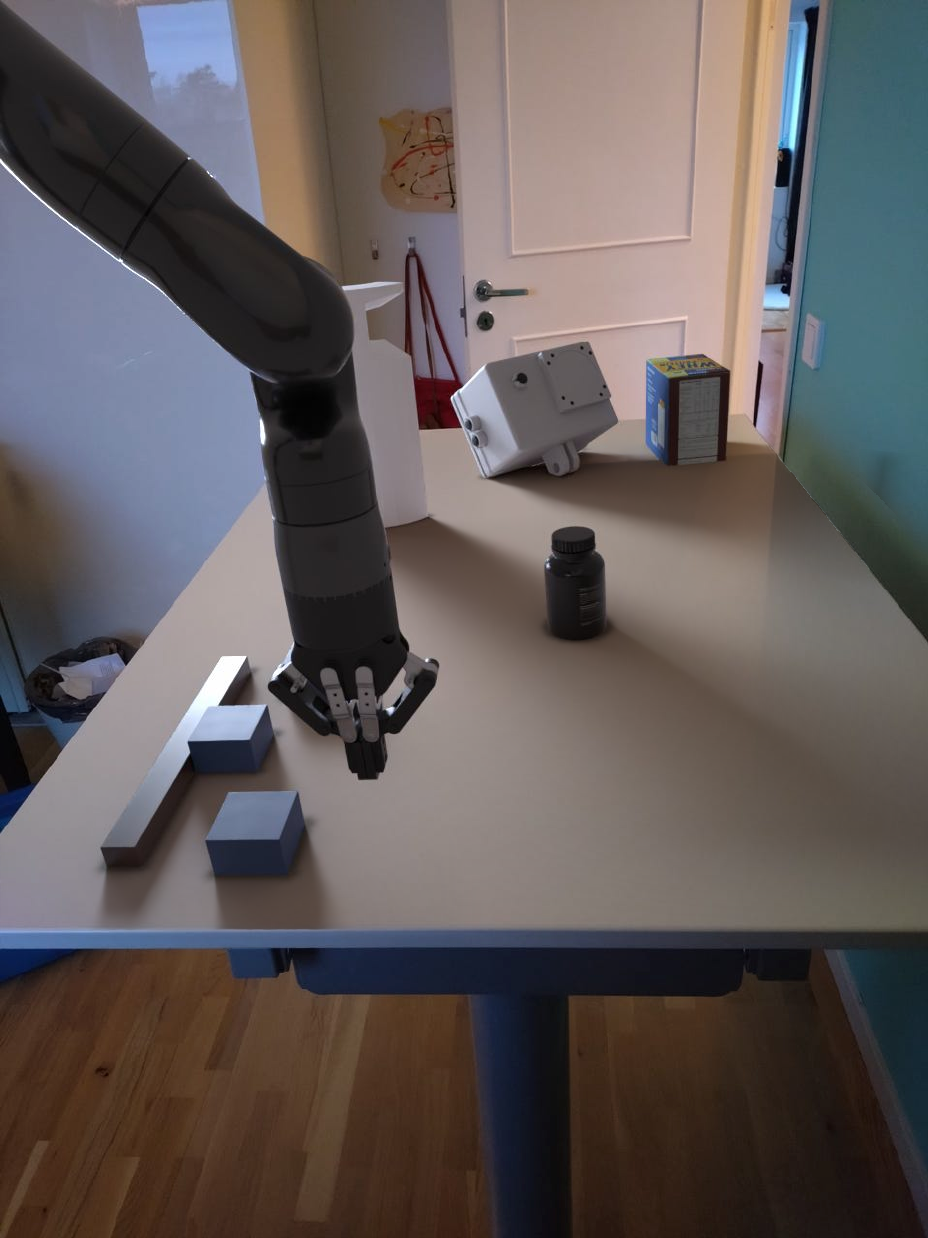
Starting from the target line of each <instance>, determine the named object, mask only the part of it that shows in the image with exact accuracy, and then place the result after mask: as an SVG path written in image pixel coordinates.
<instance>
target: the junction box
mask: <svg viewBox="0 0 928 1238" xmlns="http://www.w3.org/2000/svg"><path fill="white" fill-rule="evenodd" d="M611 398H612V393H611V391H610V388H609V387H608V384H607V382H606V379H605V377H604V374H603V373H602V369H601V367H600V365H599V363H598V360H597V358H596V355H595V353H594V350H593V348H592V346H591V343H590V341H579V342H574V343H570V344H566V345H565V344H564V345H561V346H557V347H553V348H548V349H543V350H539V351H534V352H530V353H526V354H522V355H517V356H513V357H512V356H511V357H508V358H503V359H499V360H494V361H491V362H487V363H485V364H484V365H483V366H482V367H481V368H479V369H478V371H476V373H475V374H474V375H473V376H472V377H471V378H470V379H469V380H468V381H467V382H466V383H465V384H464V385H463V386H462V387H461V388H459V389H457V391H455V392H454V394H453V395H451V397H450V402H451V405H452V406H453V409H454V412H455V413H456V416H457V418H458V422H459V424H460V426H461V428H462V430H463V433H464V435H465V438H466V441H467V443H468V445H469V448H470V450H471V453H472V455H473V457H474V460H475V463H476V465H477V467H478V470H479V472H480V474H481V477H482V478H483V479H490V478H494V477H497V476H500V475H504V474H506V473H509V472H510V473H511V472H513V471H517V470H520V469H524V468H531V467H534V466H537V465H540V464H545V466H546V469H547V471H548V473H549V474H551V475H554V476H556V477H561V476H564V475H566V474H571V473H574V472H576V471H577V470H578V469H579V468H580V456H579V454H578V453H579V452H581V450H583V449H585V448H587V447H588V445H589V444H590V443H591V442H593V441H594V440H596V439H597V438H599V437H600V436H602V435H603V434H605V433H606V432H607V431H609V430H610V429H612V428H614V427H615V426H616V425H617V424H618V423H619V418H618V416H617V413H616V411H615V409H614V406H613V404H612V402H611V400H610V399H611Z"/></svg>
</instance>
